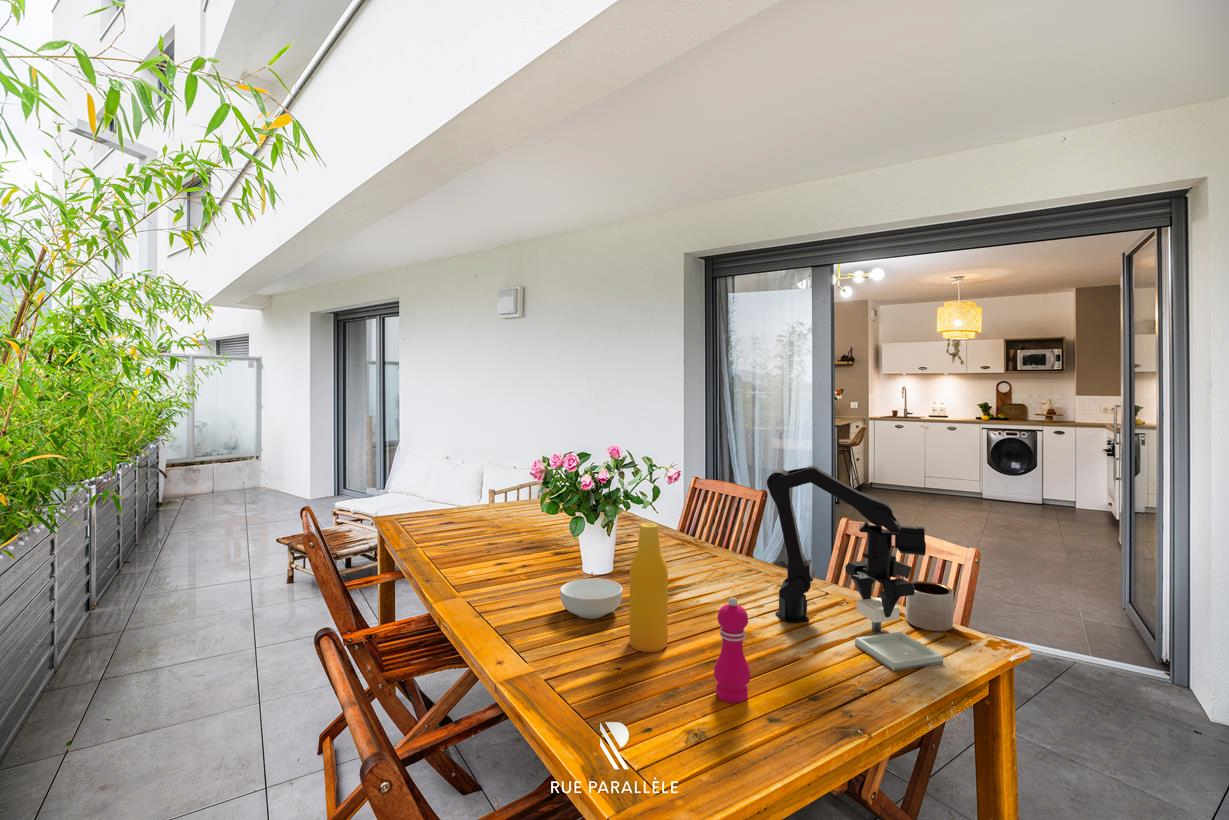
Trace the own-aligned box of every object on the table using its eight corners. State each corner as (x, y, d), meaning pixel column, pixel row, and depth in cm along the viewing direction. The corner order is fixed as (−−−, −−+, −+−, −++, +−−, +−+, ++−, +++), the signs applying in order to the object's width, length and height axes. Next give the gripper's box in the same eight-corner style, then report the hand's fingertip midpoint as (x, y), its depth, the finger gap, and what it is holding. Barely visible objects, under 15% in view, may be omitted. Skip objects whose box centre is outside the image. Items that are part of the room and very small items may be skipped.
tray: (894, 671, 129) (894, 663, 129) (855, 645, 141) (855, 637, 141) (942, 663, 132) (943, 655, 132) (900, 638, 145) (900, 631, 145)
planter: (947, 618, 157) (949, 583, 157) (956, 635, 147) (958, 597, 146) (902, 613, 161) (903, 578, 160) (908, 629, 150) (909, 592, 150)
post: (875, 633, 148) (876, 615, 148) (869, 629, 150) (870, 612, 150) (883, 631, 149) (883, 614, 149) (877, 628, 151) (877, 611, 151)
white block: (875, 622, 145) (875, 610, 145) (856, 611, 152) (856, 600, 152) (899, 619, 147) (899, 607, 147) (879, 608, 154) (879, 597, 153)
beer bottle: (656, 656, 136) (657, 531, 134) (622, 646, 141) (622, 526, 139) (674, 641, 144) (675, 523, 142) (641, 632, 148) (641, 518, 147)
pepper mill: (709, 686, 123) (710, 591, 122) (744, 684, 123) (745, 590, 122) (719, 705, 115) (719, 605, 114) (755, 703, 116) (756, 603, 115)
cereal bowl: (632, 607, 165) (632, 582, 164) (606, 630, 150) (606, 603, 149) (578, 597, 172) (578, 574, 172) (548, 619, 157) (548, 593, 157)
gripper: (934, 558, 141) (932, 622, 142) (880, 538, 159) (878, 595, 160) (895, 562, 139) (893, 627, 139) (844, 541, 157) (843, 599, 157)
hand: (877, 611), depth 149 cm, fingers closed on white block, 7 cm apart
